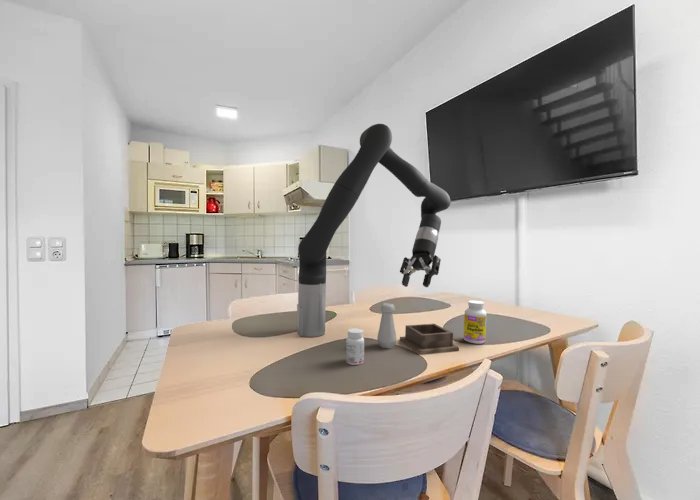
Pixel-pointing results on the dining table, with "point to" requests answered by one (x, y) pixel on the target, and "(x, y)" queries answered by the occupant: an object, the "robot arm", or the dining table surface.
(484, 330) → the supplement bottle
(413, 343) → the socket board
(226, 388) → the dining table surface
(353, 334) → the pill bottle
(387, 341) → the salt shaker
